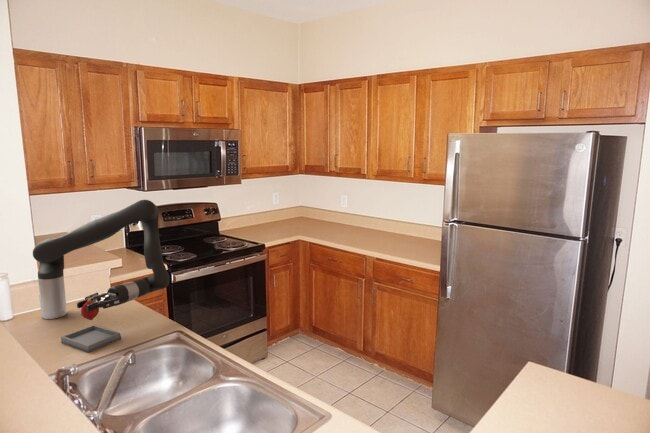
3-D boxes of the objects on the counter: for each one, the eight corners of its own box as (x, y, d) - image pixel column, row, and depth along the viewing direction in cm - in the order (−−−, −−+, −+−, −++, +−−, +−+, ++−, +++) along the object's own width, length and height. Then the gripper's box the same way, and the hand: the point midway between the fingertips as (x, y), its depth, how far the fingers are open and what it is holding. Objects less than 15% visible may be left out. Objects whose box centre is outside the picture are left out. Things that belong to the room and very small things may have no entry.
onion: (92, 323, 158) (89, 302, 157) (78, 322, 159) (76, 301, 158) (103, 317, 164) (101, 297, 163) (89, 316, 165) (87, 296, 164)
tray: (61, 343, 161) (60, 336, 160) (94, 330, 172) (94, 324, 172) (88, 352, 153) (87, 346, 153) (121, 339, 164) (120, 332, 164)
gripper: (111, 281, 176) (69, 294, 161) (134, 286, 169) (93, 300, 154) (112, 299, 177) (71, 313, 162) (136, 305, 170) (95, 320, 156)
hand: (82, 306), depth 158 cm, fingers closed on onion, 5 cm apart
